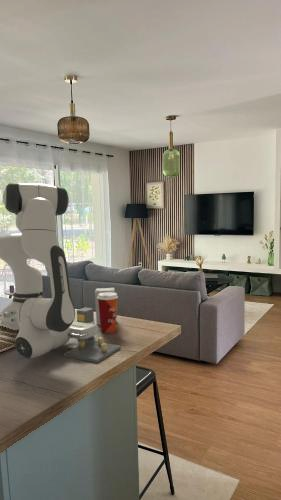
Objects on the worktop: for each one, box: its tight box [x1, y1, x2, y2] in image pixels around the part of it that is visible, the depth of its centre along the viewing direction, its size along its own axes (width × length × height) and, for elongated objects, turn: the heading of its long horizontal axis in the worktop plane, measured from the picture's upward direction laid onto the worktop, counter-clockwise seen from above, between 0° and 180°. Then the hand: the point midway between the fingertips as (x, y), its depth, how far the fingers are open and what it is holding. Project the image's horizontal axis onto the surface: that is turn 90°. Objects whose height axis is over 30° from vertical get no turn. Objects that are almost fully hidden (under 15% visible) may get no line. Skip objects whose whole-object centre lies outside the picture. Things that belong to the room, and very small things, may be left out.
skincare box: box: [94, 287, 118, 325], centre depth 157 cm, size 8×6×15 cm
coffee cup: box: [97, 292, 119, 334], centre depth 145 cm, size 8×8×15 cm
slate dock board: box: [63, 336, 121, 364], centre depth 123 cm, size 13×14×4 cm
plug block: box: [76, 306, 95, 342], centre depth 137 cm, size 4×6×11 cm
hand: (82, 322), depth 136 cm, fingers open, 8 cm apart
